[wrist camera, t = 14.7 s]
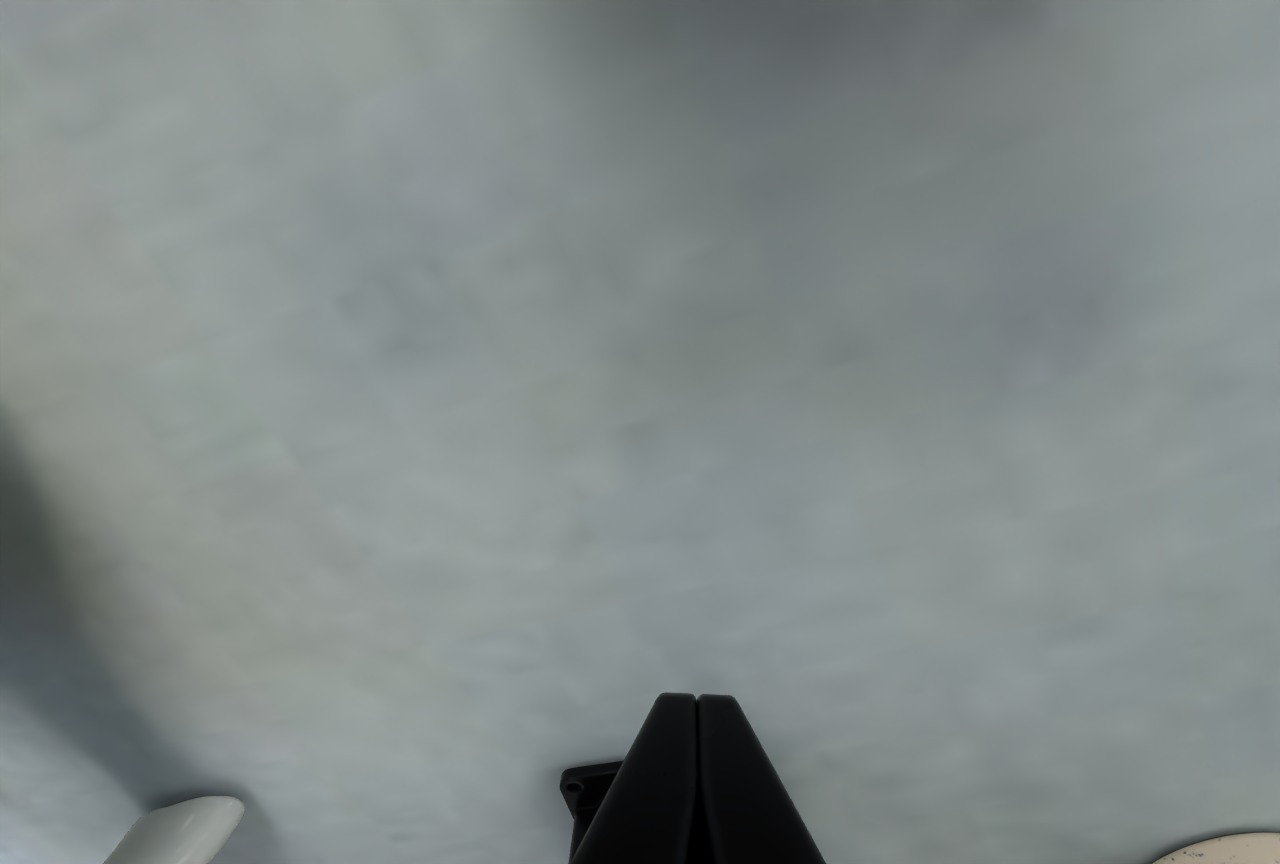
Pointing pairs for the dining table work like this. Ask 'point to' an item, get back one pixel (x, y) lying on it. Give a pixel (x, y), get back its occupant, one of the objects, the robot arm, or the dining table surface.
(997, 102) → the dining table surface
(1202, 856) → the teacup with lid
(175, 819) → the spoon rest
